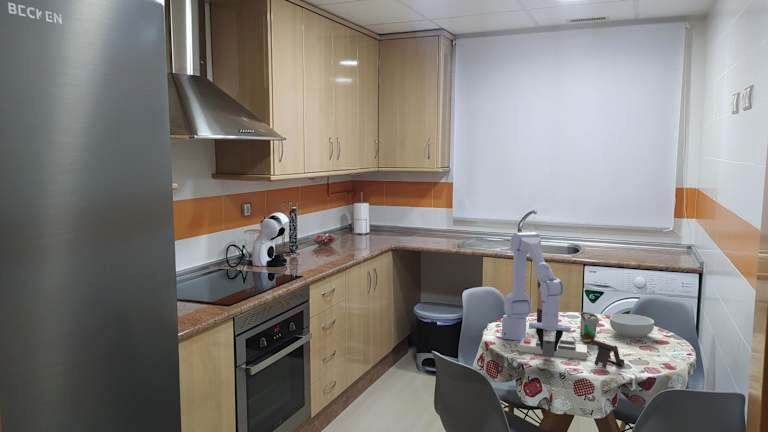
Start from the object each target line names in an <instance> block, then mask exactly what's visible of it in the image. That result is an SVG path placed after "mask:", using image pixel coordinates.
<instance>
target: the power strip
mask: <svg viewBox="0 0 768 432" xmlns="http://www.w3.org/2000/svg"><path fill="white" fill-rule="evenodd" d="M518 347H519V348H518V352H523V353H528V354H529V353H530V354H538V355H540V354H541V355H542V353H543V350H541V345H540V341H539V338H538V337H537V338H536V339H535V338H528V337H527V338H522V340H521V341H520V343H519V346H518ZM587 352H588V344H581V343H577V341H576V340H575V341H574V340H565V339H560V341H559V343H558V346H557V351H555V355H554V357H555V356H556V357H565V358H574V359H579V360H580V359H582V360H587V355H588V353H587Z"/></svg>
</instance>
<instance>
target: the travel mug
mask: <svg viewBox="0 0 768 432" xmlns="http://www.w3.org/2000/svg"><path fill="white" fill-rule="evenodd" d="M540 285H541V284H540V281H539V280H538V283H537V299H536V300H537V301H536V323H542V304H543V300H542V299H541V292H540Z"/></svg>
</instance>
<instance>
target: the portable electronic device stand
mask: <svg viewBox="0 0 768 432" xmlns="http://www.w3.org/2000/svg"><path fill="white" fill-rule="evenodd" d="M592 345H594V346H596V347H597V353H596V356H595V360H594V365H596V366H599V364H600V363H601V364H602V366H601V367H602V368H603V369H606V368H607V365H608V363H611V364H615V365H618V366H619V367H620V366H621V367H623V366H624V365H625V359H622V358H621V357H620V353H619V350H618V346H617V345H616V344H615V345H614V344H612V343H609V342H605V341H602V340H599V339H597V338H595V339H594V340H593V343H592ZM612 352H613V356H614V357H612V355H611V353H612Z"/></svg>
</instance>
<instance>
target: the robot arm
mask: <svg viewBox="0 0 768 432" xmlns="http://www.w3.org/2000/svg"><path fill="white" fill-rule="evenodd" d="M541 244H542V238H541V235H540V234H539V233H538V232H537V231H535V232H514V233H513V234H512V235H511V238H510V251H511V252H513V259H512V261H513V265H512V287H511V288H512V289H511V290H512V291H511V292H510V293H508V294H507V295H505V301H504V303H503V311H504V313H505V314H503V316H502V322H501V323H502V324H501V339H504V340H513V341H520V342H521V340H522V338H528V336H529V335H528V334H527V318H529V315H531V313H532V303H531V301H532V300H531V299H532V298H531V297H530V296H529V294H527V293H526V281H527V280H526V277H527V256H528V254H529V257H530V258H531V260H532V262H533V263H534V265H535V268H534V272H535V275H536V277H537V279H538V281H539V282H540V284H541V285H540V292H541V299H542V300H543V304H542V323H537V322H530V321H529V323H528V330H535V334H536V336H537V338H539V341H540V345H541V350H543V338H544V334H545V331H551V332H552V331H553V332H555V334H554V335H555V336H554V337H555V348H554V351H557V346H558V343H559V341H560V340H562V337H563V335H564V333H567V334H571V333H572V332H571V331H572V326H570V325H563V324H559V316H560V315H559V313H560V309H559V308H560V296H562V295H563V293H564V285H563V282H562V280H560V279H559V278H558V277H556V276H555V274H554V272H553V270H552V269H553V268H552V267H551V266H550V264H549V263H547V262H546V261H545V258H544V256H543V253H542V250H541V246H542V245H541Z"/></svg>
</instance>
